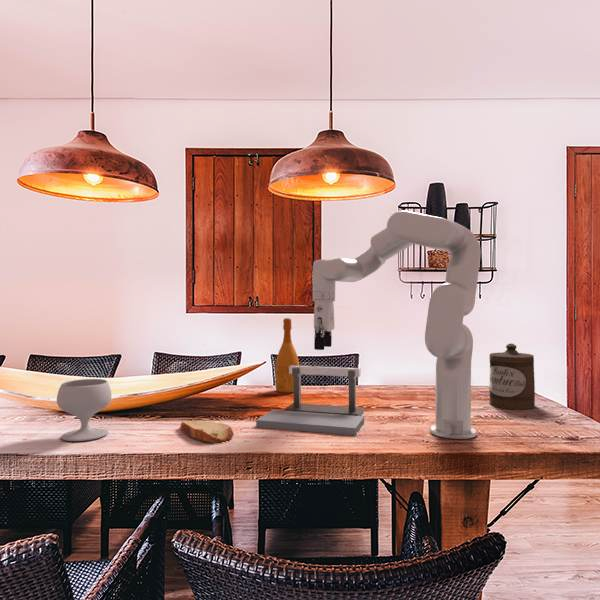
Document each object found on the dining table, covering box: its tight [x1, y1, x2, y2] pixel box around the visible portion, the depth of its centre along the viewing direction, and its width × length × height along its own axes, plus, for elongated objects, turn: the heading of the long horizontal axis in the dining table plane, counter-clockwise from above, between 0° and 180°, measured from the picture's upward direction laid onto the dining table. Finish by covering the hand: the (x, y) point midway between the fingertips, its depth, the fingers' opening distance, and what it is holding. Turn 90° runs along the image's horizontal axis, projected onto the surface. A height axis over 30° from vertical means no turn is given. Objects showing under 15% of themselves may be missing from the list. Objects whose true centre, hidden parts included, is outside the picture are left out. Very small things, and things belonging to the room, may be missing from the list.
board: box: [255, 409, 365, 436], centre depth 147 cm, size 14×30×2 cm, turn 73°
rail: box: [289, 365, 362, 378], centre depth 163 cm, size 2×24×2 cm, turn 73°
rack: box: [283, 368, 365, 416], centre depth 163 cm, size 10×25×15 cm, turn 73°
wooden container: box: [488, 343, 536, 410], centre depth 174 cm, size 15×15×22 cm
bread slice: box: [179, 420, 234, 444], centre depth 138 cm, size 18×18×4 cm
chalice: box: [56, 378, 112, 442], centre depth 136 cm, size 14×14×15 cm
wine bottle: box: [274, 317, 300, 394], centre depth 200 cm, size 10×10×30 cm
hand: (323, 348), depth 163 cm, fingers open, 9 cm apart
